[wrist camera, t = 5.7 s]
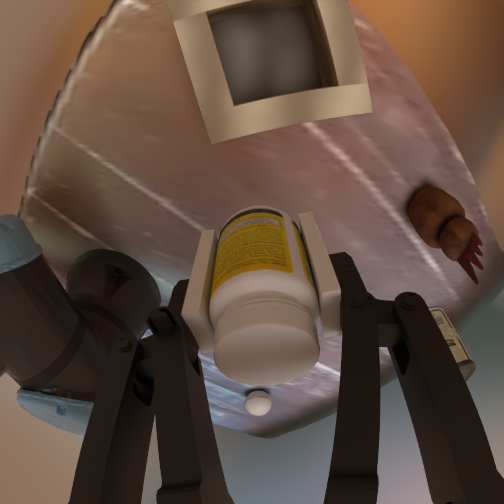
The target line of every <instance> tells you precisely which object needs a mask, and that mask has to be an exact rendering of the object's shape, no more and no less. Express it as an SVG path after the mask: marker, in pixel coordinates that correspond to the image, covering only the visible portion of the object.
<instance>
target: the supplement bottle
mask: <svg viewBox="0 0 504 504" xmlns="http://www.w3.org/2000/svg"><path fill="white" fill-rule="evenodd" d="M209 316H210V321H211V324H212V326H213V328H214V329H215V333H214V361H215V364H216V366H217V367H218V369H219V370H220V371H221V372H222V373H223V374H224V375H226V376H227V377H229V378H231V379H233V380H235V381H237V382H241V383H244V384H249V385H258V386H268V385H277V384H282V383H286V382H289V381H292V380H295V379H297V378H299V377H301V376H303V375H304V374H306V373H307V372H308V371H309V370H311V369H312V368H313V366H314V365H315V364H316V362H317V360H318V358H319V354H320V347H319V341H318V335H317V328H316V323H317V320H318V316H319V300H318V295H317V291H316V288H315V284H314V280H313V276H312V273H311V269H310V265H309V261H308V258H307V254H306V251H305V247H304V244H303V240H302V237H301V234H300V231H299V228H298V226H297V224H296V223H295V221H294V220H293V219H292V218H291V217H290V216H289V215H288V214H286V213H285V212H283V211H281V210H279V209H277V208H274V207H270V206H264V205H257V206H250V207H247V208H244V209H241V210H240V211H238V212H236V213H235V214H233V215H232V216H231V217H230V218H229V219H228V220H227V221H226V223H225V224H224V226H223V228H222V230H221V233H220V236H219V240H218V248H217V255H216V261H215V268H214V275H213V281H212V288H211V296H210V303H209Z"/></svg>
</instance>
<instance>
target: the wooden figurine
mask: <svg viewBox="0 0 504 504" xmlns="http://www.w3.org/2000/svg"><path fill="white" fill-rule="evenodd" d="M409 217H410V221H411V223H412V225H413V227H414V228H415V230H416V232H417V233H418V235H419V236H420V237H421V238H422V239H423V241H424V242H425V243H426V244H427V245H429V246H430V247H432V248H437V249H438V248H441V249H442V251H443V252H444V254H445V255H446V256H447V257H448V258H449V259H450V260H452V261H458V263H459V264H460V265H461V266H462V268H463V269H464V270H465V271H466V272H467V274H468V275H469V276H470V277H471V279H472V280H473V281H474V282H475V284H476V285H478V284H479V282H478V279H477V277H476V275H475V272H474V270H473V267H472V265H471V263H470V262H472V263H473V264H474V265H476V266H477V267H478V268H480V269H481V270H483V269H484V268H483V266H482V264H481V263H480V261H479V260H478V258H477V256H476V255H475V253H476V254H478V255H480V256H483V254H482V252H481V251H480V249H479V248H478V246H477V245H480V246H482V245H483V244H482V242H481V240H480V239H479V236H478V230H477V228H476V227H475V226H474V224H473V223H472V222H471V221H470V220H468V219H466V218H465V211H464V209H463V207H462V206H461V204H460V203H459V202H458V200H456V199H455V198H454V197H452V196H451V195H449V194H448V193H446V192H445V191H444V190H442V189H439V188H424V189H422V190H421V191H419V192H418V193H417V194H416V195H415V196H414V198H413V199H412V201H411V203H410V205H409ZM474 252H475V253H474Z"/></svg>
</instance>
